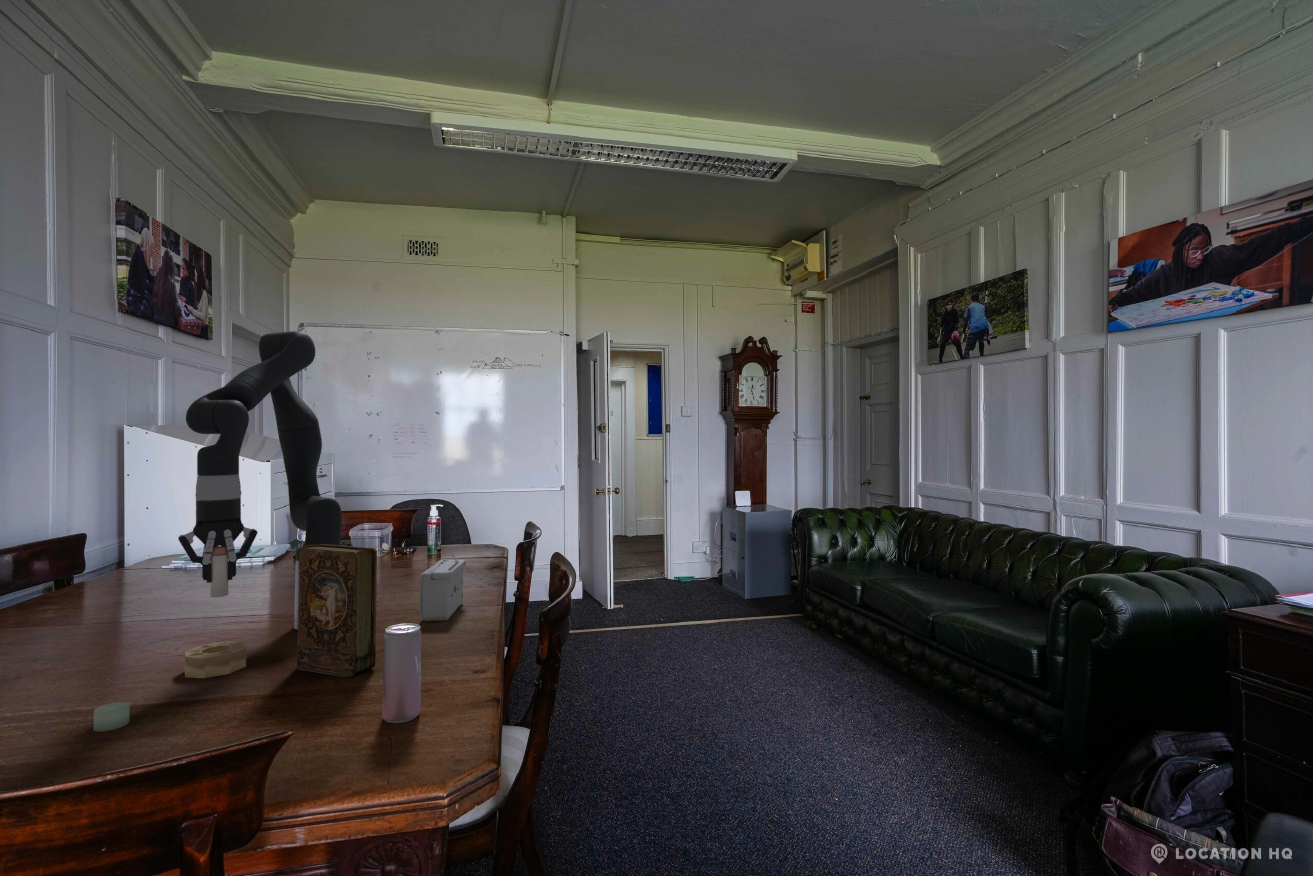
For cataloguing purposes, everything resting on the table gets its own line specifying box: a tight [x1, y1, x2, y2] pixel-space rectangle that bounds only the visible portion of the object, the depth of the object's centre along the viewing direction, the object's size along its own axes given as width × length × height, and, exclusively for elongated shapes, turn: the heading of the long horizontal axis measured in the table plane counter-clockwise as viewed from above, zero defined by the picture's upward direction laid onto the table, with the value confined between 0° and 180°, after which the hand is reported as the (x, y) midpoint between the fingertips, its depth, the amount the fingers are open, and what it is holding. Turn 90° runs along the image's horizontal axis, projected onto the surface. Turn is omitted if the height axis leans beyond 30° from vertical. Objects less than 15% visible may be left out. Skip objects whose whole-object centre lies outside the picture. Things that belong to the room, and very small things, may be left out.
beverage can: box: [381, 623, 422, 724], centre depth 104 cm, size 6×6×15 cm
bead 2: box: [184, 641, 247, 679], centre depth 125 cm, size 10×10×4 cm
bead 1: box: [92, 701, 131, 732], centre depth 100 cm, size 4×4×3 cm
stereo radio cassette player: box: [419, 545, 467, 622], centre depth 171 cm, size 21×8×20 cm, turn 6°
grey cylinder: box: [210, 546, 229, 598], centre depth 125 cm, size 3×3×10 cm
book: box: [296, 544, 378, 678], centre depth 126 cm, size 16×6×25 cm, turn 71°
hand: (219, 580), depth 125 cm, fingers closed on grey cylinder, 3 cm apart
